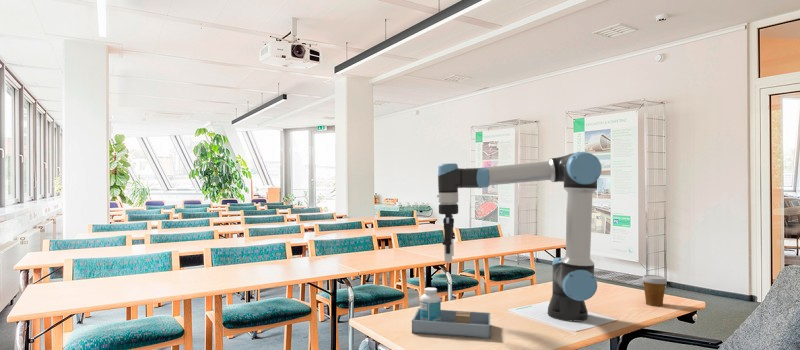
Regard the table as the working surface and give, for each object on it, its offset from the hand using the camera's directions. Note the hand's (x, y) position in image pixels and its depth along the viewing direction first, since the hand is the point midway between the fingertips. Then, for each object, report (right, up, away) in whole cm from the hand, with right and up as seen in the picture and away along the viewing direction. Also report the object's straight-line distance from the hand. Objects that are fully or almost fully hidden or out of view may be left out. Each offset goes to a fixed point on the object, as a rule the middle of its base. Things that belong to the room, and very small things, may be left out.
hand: (449, 259), depth 178 cm
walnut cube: (+4, -23, -10) cm, 25 cm away
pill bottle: (-8, -23, -8) cm, 26 cm away
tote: (0, -24, -9) cm, 26 cm away
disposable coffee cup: (+92, -25, +25) cm, 98 cm away
